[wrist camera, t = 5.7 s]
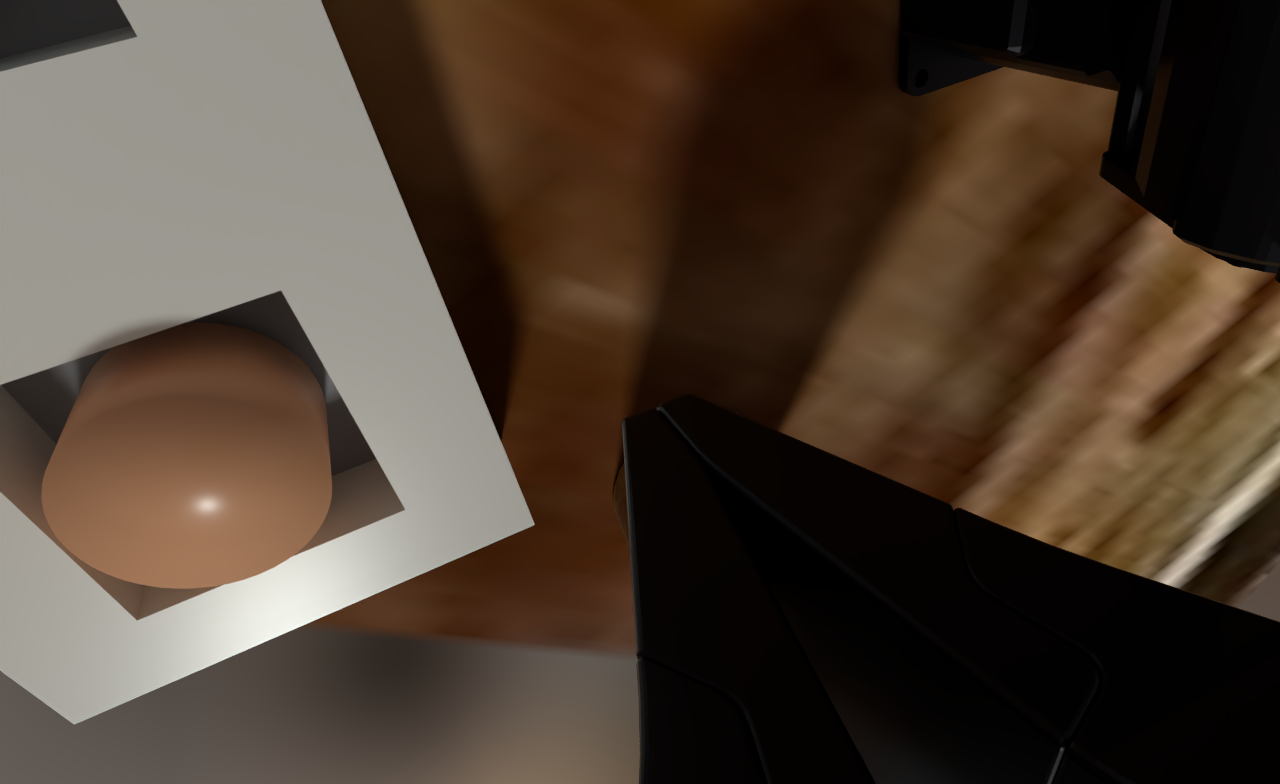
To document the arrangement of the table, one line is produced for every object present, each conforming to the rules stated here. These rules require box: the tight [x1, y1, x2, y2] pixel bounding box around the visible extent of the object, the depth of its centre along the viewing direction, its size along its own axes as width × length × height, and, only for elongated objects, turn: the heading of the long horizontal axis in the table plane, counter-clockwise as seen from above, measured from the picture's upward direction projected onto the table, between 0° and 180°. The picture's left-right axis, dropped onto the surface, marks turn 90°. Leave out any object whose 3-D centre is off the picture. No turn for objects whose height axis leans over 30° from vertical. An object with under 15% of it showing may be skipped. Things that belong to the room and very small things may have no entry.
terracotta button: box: [41, 322, 332, 589], centre depth 16 cm, size 5×5×3 cm
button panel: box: [0, 0, 535, 724], centre depth 13 cm, size 12×22×4 cm, turn 10°
